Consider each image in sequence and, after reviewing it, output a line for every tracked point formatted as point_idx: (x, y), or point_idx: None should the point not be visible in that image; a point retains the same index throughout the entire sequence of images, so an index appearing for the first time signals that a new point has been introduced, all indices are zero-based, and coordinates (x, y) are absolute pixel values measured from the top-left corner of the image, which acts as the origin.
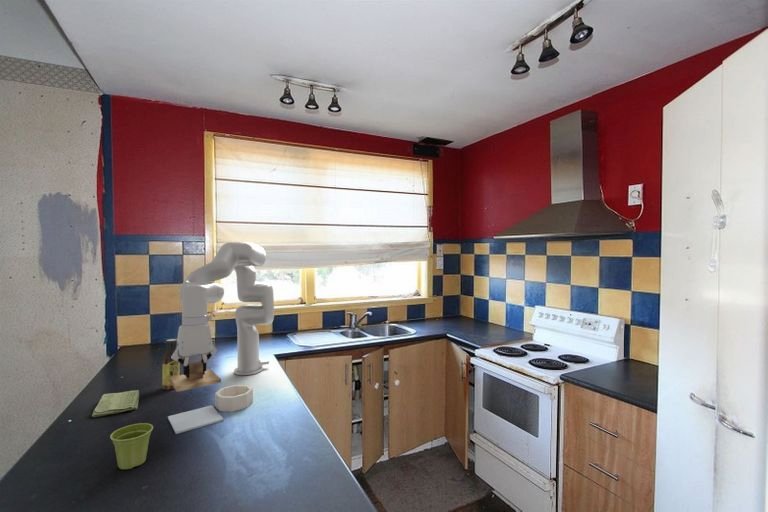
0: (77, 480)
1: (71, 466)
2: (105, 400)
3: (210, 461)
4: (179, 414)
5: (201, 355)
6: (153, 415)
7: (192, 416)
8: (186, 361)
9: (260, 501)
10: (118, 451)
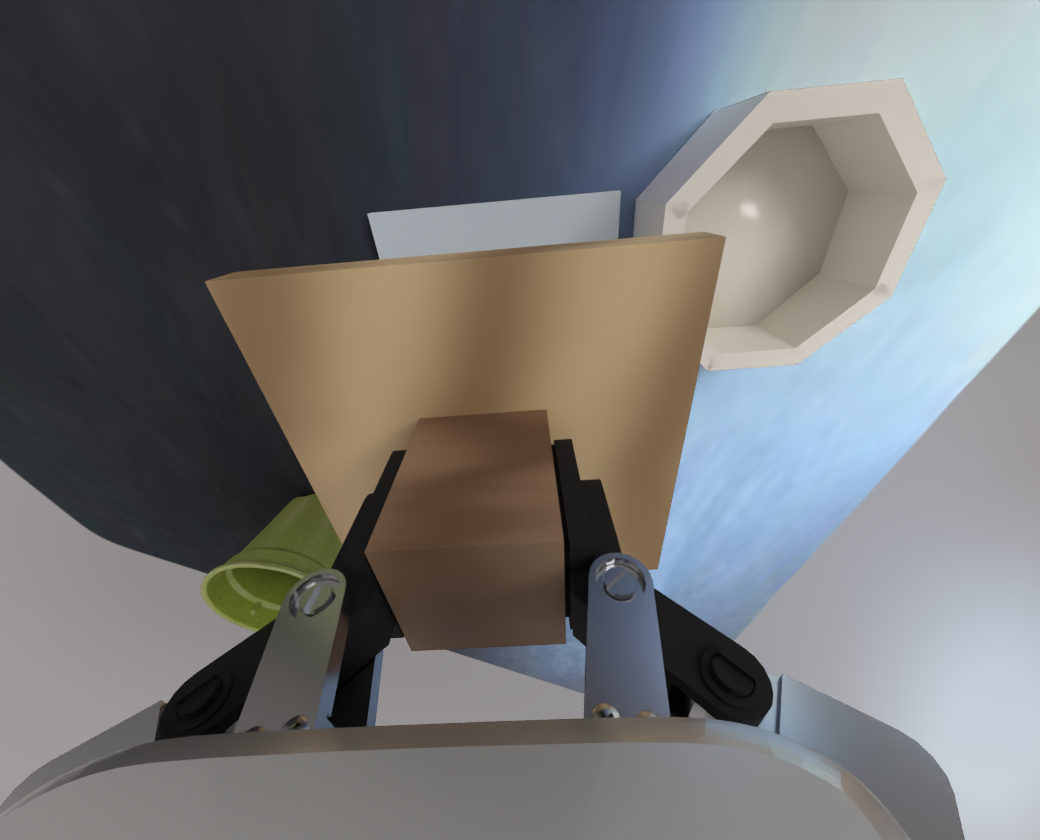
0: (208, 522)
1: (137, 452)
2: None
3: None
4: (430, 226)
5: (591, 678)
6: (268, 89)
7: None
8: (352, 702)
9: (554, 679)
10: (269, 580)
